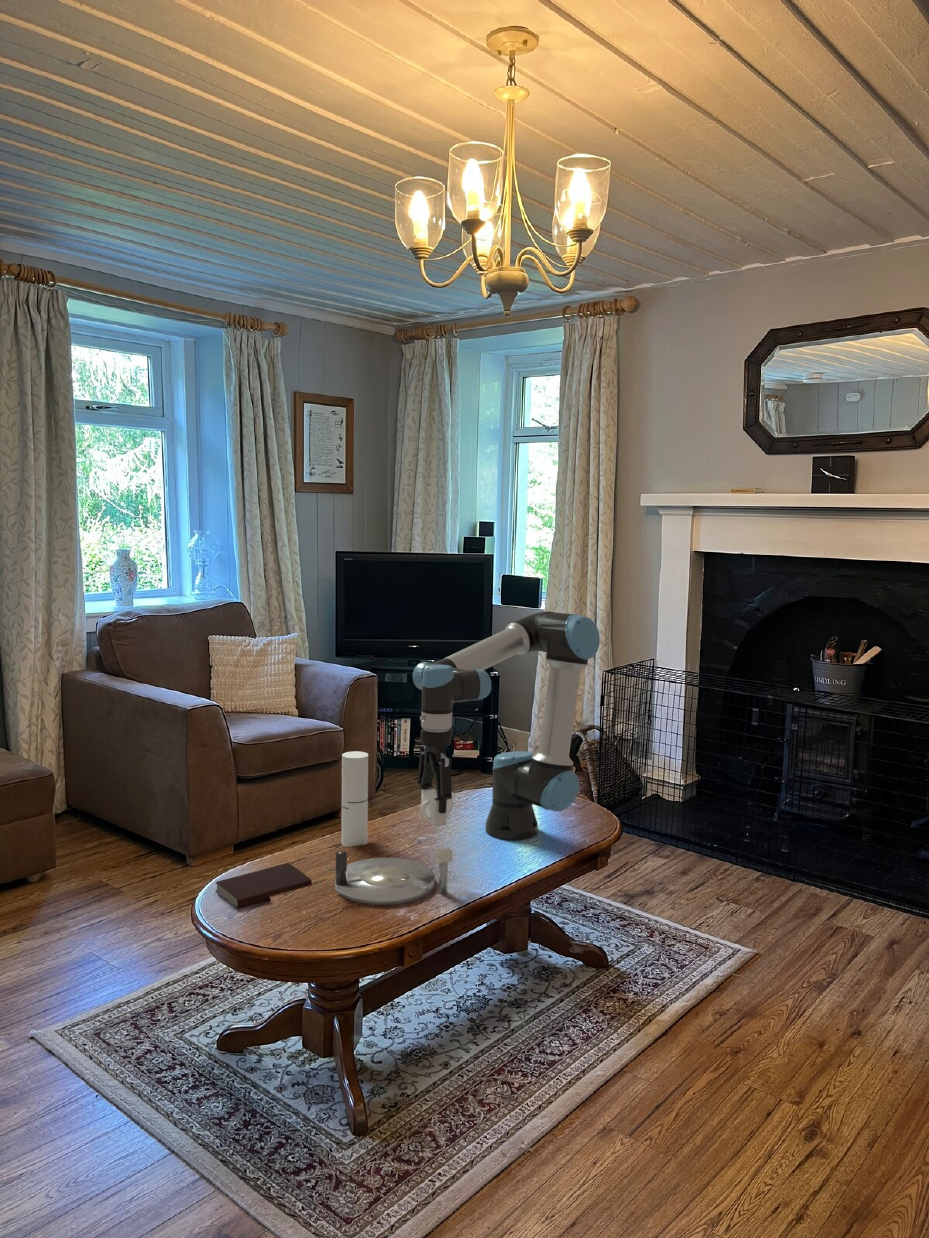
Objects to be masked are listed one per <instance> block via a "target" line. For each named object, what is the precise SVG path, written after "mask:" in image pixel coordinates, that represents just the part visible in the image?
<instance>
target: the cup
mask: <svg viewBox="0 0 929 1238" xmlns="http://www.w3.org/2000/svg"><path fill="white" fill-rule="evenodd" d="M431 789H432V790H426V791H424V792H423V793H422V805H421V804H420V816H421V815H422V816H421V817H422V818H423V819H424V820H426V821H428V822H429V823H432V824H435V798H437V792H436V788H431ZM453 807H454V793H453V792H452V798H451V799H447V810H446V820H447V819H448V818H449V817H450V814H451V813H452V810H453Z"/></svg>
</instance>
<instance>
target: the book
mask: <svg viewBox="0 0 929 1238" xmlns="http://www.w3.org/2000/svg"><path fill="white" fill-rule="evenodd" d="M312 883H313V882H312V879H311V878H310V877H309V876H307V874H305V873H304V872H303V871H301V870H299V869H298V868H297V867H295V866H294V865H292V864H290V863H288V862H287V863H282V864H279V865H274V866H270V867H266V868H264V869H263V868H262V869H259V870H255V871H252V872H249V873H244V874H240V875H237V876H234V877H233V876H232V877H229V878H225V879H222V880H217V881H215V884H216V890H215V891H214V892H215V893H218V894H219V895H220V896H222V897H223V898H224V899H225V900H227V901H228V902H229V903H230V904H232V905H233V906H234V907H236V909H237V910H239V909H242V908H245V907H249V906H253V905H256V904H260V903H265V902H267V901H272V900H271V897H270V896H274V895H276V894H280V893H284V892H287V891H291V890H295V889H298V888H301V887H306V886H309V885H310V886H311V885H312Z"/></svg>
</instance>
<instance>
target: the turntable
mask: <svg viewBox="0 0 929 1238" xmlns="http://www.w3.org/2000/svg"><path fill="white" fill-rule="evenodd" d="M334 888H335V891H336V892H337V894H339V896H341V897H343V898H344V899H347V900H349V901H351V902H355V903H357V904H358V903H359V904H364V905H370V906H394V905H395V906H396V905H402V904H406V903H407V904H408V903H411V902H415V901H417V900H420V899H422V898H424V897H426V896H427V895H429V894H430V893H431V892H432V891H433V889H434V888H435V873H434V871H433V869H431V868H430V867H429V866H427V865H426V864H424V863H421V862H419V861H416V860H412V859H407V858H402V857H371V858H366V859H365V858H364V859H360V860H356V861H354V862H351V863H349V864H348V851H346V850H337V851H336V852H335V876H334Z"/></svg>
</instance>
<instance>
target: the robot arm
mask: <svg viewBox="0 0 929 1238" xmlns="http://www.w3.org/2000/svg"><path fill="white" fill-rule="evenodd" d="M600 638H601V637H600V631H599V629H598V626H596V622H594V620H592V618H590V617H588V616H585V615H580V614H577V613H574V614H573V613H564V612H555V611H548V610H546V611H539V612H535V613H532V614H529V615H526V616H524V617H521V618H520V619H517V620H515V621H512V622H511V623H508V624H507V625H506V626H505V629H504V630H501V631H500V632H497V633H495V634H494V635H491V636H489V637H487V638H484V639H482V640H480V641H478V642H476V643H473V644H472V645H470V646H467V647H466V648H465V647H464V648H463V649H461V650H459V651H457V652H455V653H453V654H451V655H449V656H446V657H444V658H443V659H439V660H437V661H435V662H432V661H427V662H426V661H423V662H420V663H418V664H417V665H416V666H415V667H414V670H413V672H412V681H413V684H414V686H415V687H416V688H417V689H419V690H421V711H420V712H421V715H420V716H419V720H420V724H421V725H420V727H421V729H420V739H419V741H420V744H421V746H419V762H418V772H417V782H416V783H417V785H419V787H420V789H421V791H420V792H421V794H420V795H421V796H420V806H421V805H422V793H423V792H424V791H426V790H432V789H434V784H433V783H432V782H433V780H434V783H435V789H436V792H437V798H435V823H434V827H441V826H447V819H446V810H447V799H451V798H452V793H453V790H452V789H453V788H452V761H453V760H452V757H447V753H446V748H447V747H450V746H451V744H452V730H451V729H452V727H453V706H454V705H453V704H455V703H462V702H463V703H464V702H471V701H478V700H483V699H485V698H487V697H488V696H489V695H490V693H491V692H492V691H491V690H492V680H491V677H490V675H489V673H488V672H487V671H486V670H487V669H489V668H491V667H493V666H495V665H497V664H499V663H501V662H503V661H505V660H507V659H510V658H512V657H513V656H515V655H518V656H524V655H525V654H527V653H532V652H542V653H546V654H545V661H546V662H547V664H548V665H549V672H548V679H547V686H546V692H545V693H546V694H545V701H544V707H543V708H544V709H543V714H542V722H541V729H540V736H539V743H538V751H537V752H536V753H535V754H534V753H533V752H530V751H524V750H523V751H522V750H521V751H520V750H519V751H517V750H516V751H507V752H502V753H499V754H496V756H494V759H493V766H492V790H491V791H492V800H491V801H492V802H491V803H492V804H491V806H490V810H489V812H488V815H487V818H486V821H485V833H486V834H488V835H489V836H492V837H494V838H497V839H500V840H501V839H503V840H508V841H509V840H510V841H517V840H519V841H520V840H527V839H531V838H534V837H535V836H537V835H538V832H539V824H538V820H537V817H536V814H535V810H534V806H537V807H540V808H542V809H544V810H546V811H553V812H558V813H559V812H562V811H565V810H567V809H568V808H569V807H570V806H571V805H572V804H573V803H574V802H575V801H576V798H577V796H578V793H579V790H580V779H578V778H579V777H578V775H577V773H575V772H574V771H573V770H574V769H573V768H574V761H573V760H572V759H571V758H570V752H571V751H570V749H571V743H572V737H573V730H574V729H573V728H574V724H575V723H574V721H575V715H576V708H577V702H578V693H579V687H580V680H581V675H582V674H581V673H582V671H583V670H584V669H585V668H586V667H588V663H589V660H590V659H592V658H594V657H595V655H596V653H597V652H598V651H599V648H600V643H601V642H600V641H601V639H600ZM533 805H534V806H533ZM420 816H421V817H422V815H421V814H420Z"/></svg>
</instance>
